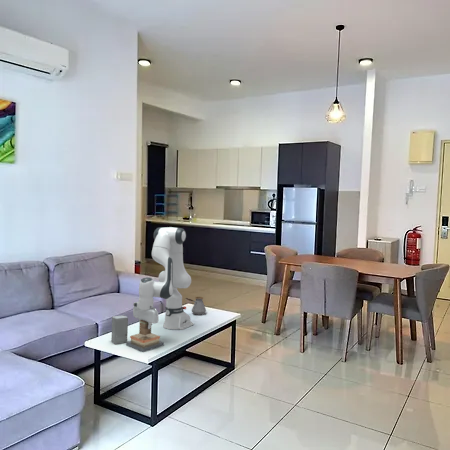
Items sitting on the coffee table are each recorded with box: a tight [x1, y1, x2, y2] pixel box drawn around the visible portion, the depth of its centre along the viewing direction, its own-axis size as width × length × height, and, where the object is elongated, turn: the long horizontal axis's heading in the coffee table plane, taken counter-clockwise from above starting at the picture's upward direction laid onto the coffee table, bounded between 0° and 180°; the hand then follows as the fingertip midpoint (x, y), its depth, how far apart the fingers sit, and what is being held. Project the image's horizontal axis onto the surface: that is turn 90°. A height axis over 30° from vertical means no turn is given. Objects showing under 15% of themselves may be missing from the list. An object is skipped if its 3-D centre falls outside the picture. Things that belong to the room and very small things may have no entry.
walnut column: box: [138, 320, 152, 335], centre depth 252 cm, size 5×5×8 cm
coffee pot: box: [183, 296, 207, 316], centre depth 323 cm, size 21×12×15 cm, turn 140°
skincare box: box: [110, 315, 129, 345], centre depth 257 cm, size 8×7×16 cm
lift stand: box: [125, 332, 165, 353], centre depth 252 cm, size 16×16×6 cm
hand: (145, 327), depth 252 cm, fingers closed on walnut column, 5 cm apart
